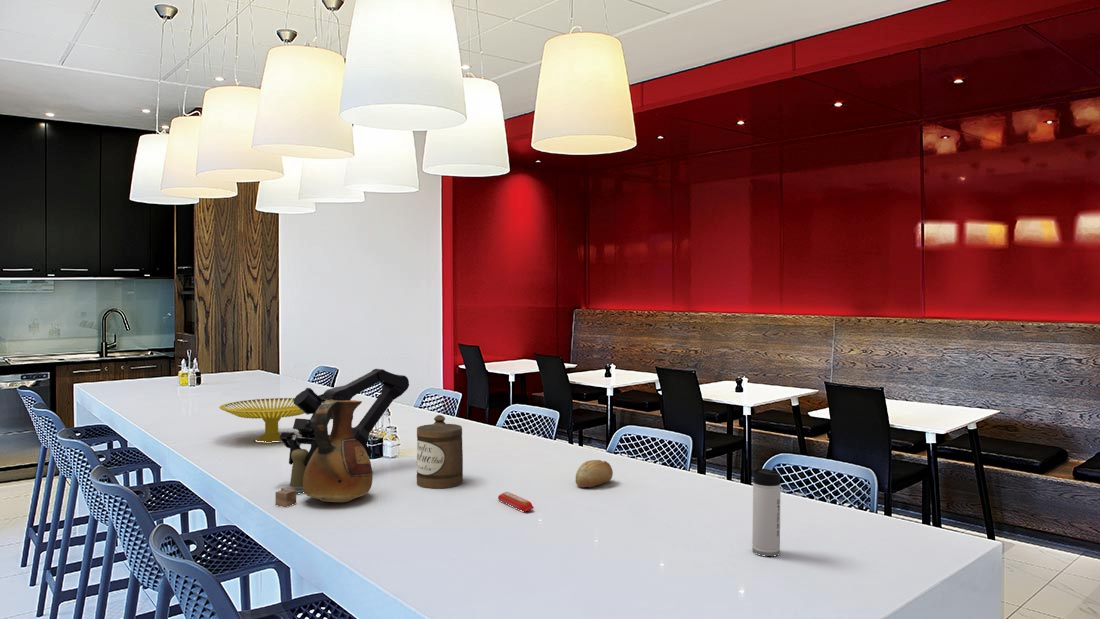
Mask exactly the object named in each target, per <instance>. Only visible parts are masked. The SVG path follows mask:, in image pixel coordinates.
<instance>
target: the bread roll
mask: <svg viewBox="0 0 1100 619" xmlns="http://www.w3.org/2000/svg"><path fill="white" fill-rule="evenodd" d="M612 468H613V467H612V466H611V465H610V463H609V462H608V461H605V460H604V461H603V460H600V459H591V460H587V461H585V462H583V463H582V464H581V465H580V466H579V467H578V468H577V471H576V473H575V483H576V485H577V486H578V487H579V488H580V487H589V488H593V487H597V486H600V485H602V484H605V483H609V482H610V481H611V480H612V479H613V473H614V472H613V471H614V470H613V469H612Z"/></svg>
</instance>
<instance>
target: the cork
mask: <svg viewBox="0 0 1100 619" xmlns="http://www.w3.org/2000/svg"><path fill="white" fill-rule="evenodd" d="M308 453H309V451H308V450H307V449H306V448H301V449H296V450H294V451H292V453H291V458H292V460H293V463H292V466H291V468H292V469H291V475H290V482H289V486H291V487H303V475H304V471H305V469H306V466H304V461H305V459H306V457H307V455H308Z"/></svg>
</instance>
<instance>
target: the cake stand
mask: <svg viewBox="0 0 1100 619" xmlns="http://www.w3.org/2000/svg"><path fill="white" fill-rule="evenodd" d="M294 399H295V397H278V398H277V397H273V398H258V399H257V398H255V399H245V400H239V401H234V402H232V401H231V402H228V403H224V404H221V405H220V406H219V407H218V408H219V409H220V410H221V411H225V412H226V413H229V414H231V415H234V416H236V417H238V418H243V419H262V420H263V422H264V428H265V429H264V430H265V431H264V434H262V435H260V436H259V437H256V438H255V439H256V440H257V441H264V442H265V441H266V442H272V441H281V440H280V439H279V437H280V435H281V433H279V421H280V420H281V419H282V418H290V417H296V416H300V415H304V414H305V413H304V412H303V411H302V410H301V409H300V408H298V407H297V406H296V405H295V404H294ZM253 403H254V404H253ZM321 404H323V403H321ZM262 405H263V406H262Z"/></svg>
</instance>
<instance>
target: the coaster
mask: <svg viewBox="0 0 1100 619" xmlns="http://www.w3.org/2000/svg"><path fill="white" fill-rule="evenodd" d="M284 489H290V490H296V494H298V493H303V492H304V490H303V487H291V486H290V485H289V486H285V487H280V491H281V490H284ZM303 494H304V493H303ZM298 495H299V494H298Z"/></svg>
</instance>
